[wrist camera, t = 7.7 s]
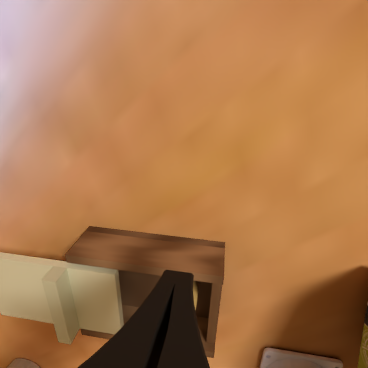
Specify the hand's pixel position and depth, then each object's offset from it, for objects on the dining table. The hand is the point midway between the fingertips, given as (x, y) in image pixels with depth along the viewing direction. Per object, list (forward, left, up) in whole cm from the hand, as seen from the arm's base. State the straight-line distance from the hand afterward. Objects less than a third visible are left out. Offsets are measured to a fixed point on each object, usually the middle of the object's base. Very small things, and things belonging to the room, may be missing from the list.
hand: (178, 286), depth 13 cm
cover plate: (-10, +13, -7) cm, 17 cm away
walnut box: (-10, +4, -10) cm, 15 cm away
